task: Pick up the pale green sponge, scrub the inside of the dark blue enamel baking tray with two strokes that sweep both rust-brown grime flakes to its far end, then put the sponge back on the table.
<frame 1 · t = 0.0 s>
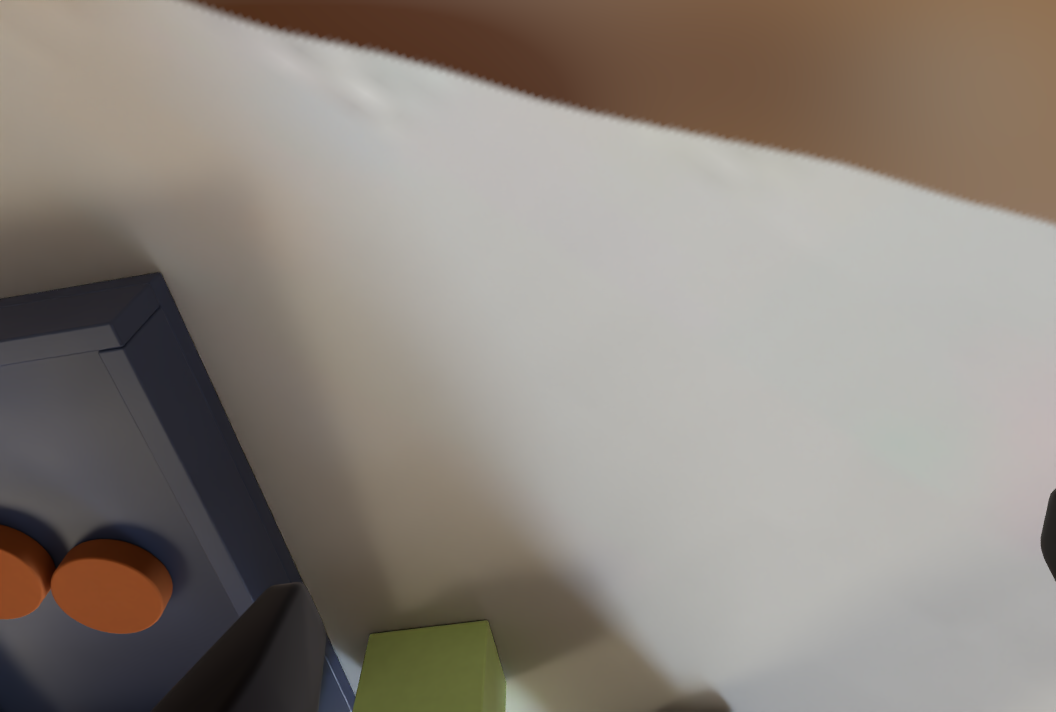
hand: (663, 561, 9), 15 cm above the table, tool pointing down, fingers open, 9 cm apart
tray: (86, 556, 30), on the table
sponge: (439, 658, 33), on the table
grime a: (119, 577, 29), point 1 cm above the table, touching tray
grime b: (0, 561, 29), point 1 cm above the table, touching tray
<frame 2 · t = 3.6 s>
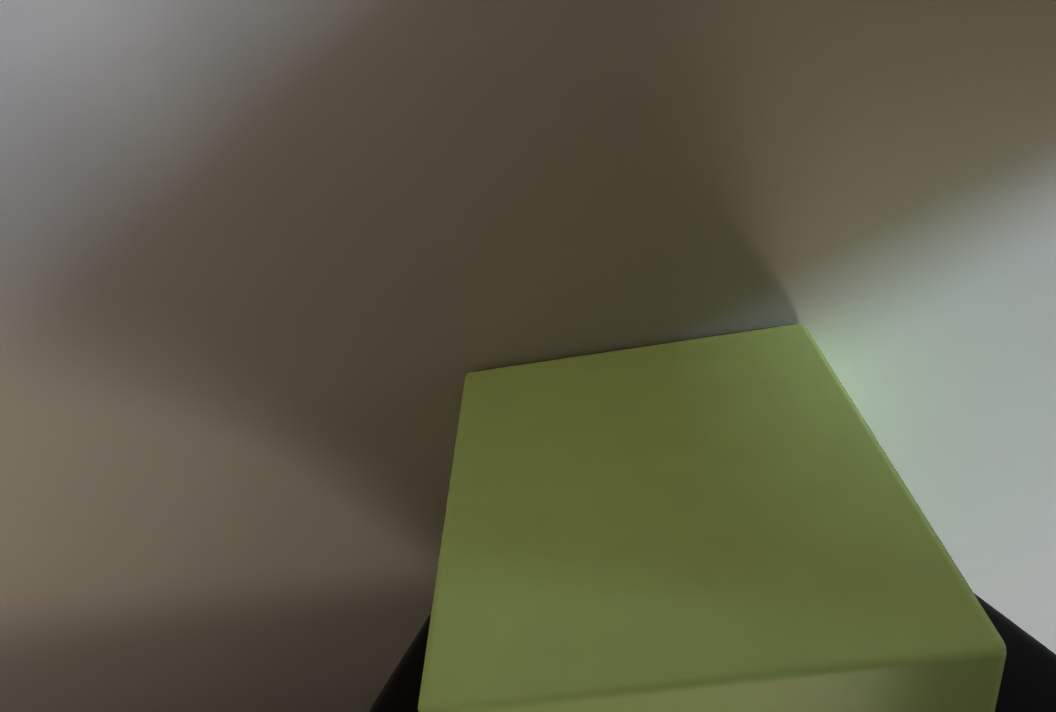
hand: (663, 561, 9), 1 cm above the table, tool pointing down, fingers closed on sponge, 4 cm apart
sponge: (650, 505, 10), on the table, touching gripper
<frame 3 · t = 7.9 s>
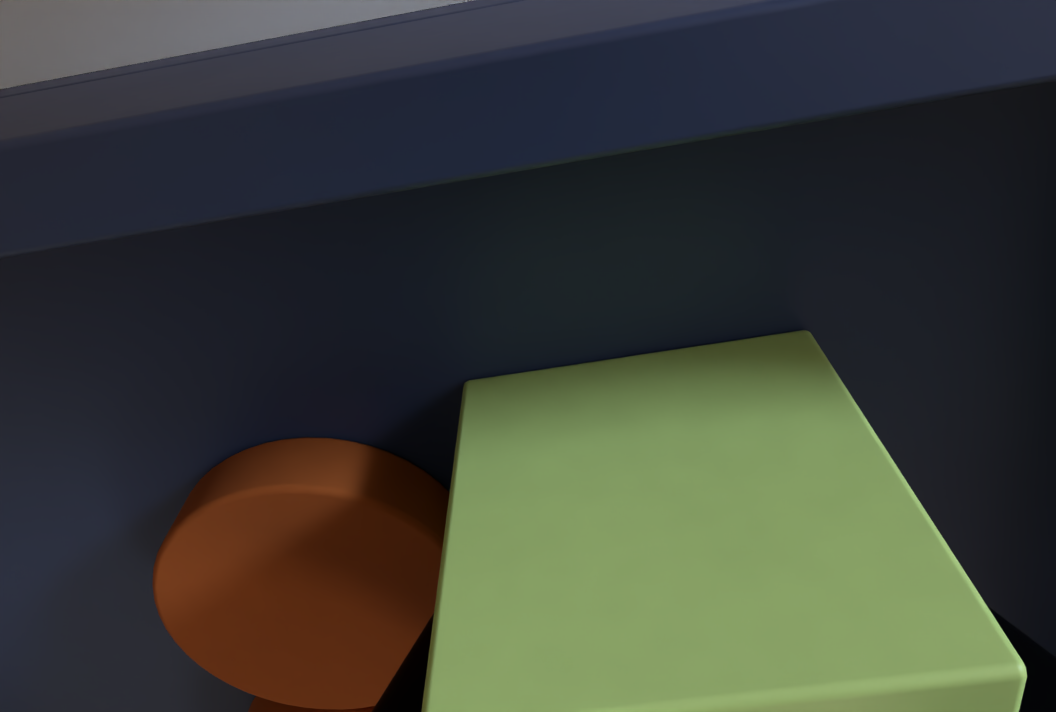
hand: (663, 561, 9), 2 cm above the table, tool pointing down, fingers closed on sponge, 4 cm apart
tray: (401, 581, 12), on the table
sponge: (652, 514, 10), point 1 cm above the table, touching gripper
grime a: (332, 553, 10), point 1 cm above the table, touching gripper, tray
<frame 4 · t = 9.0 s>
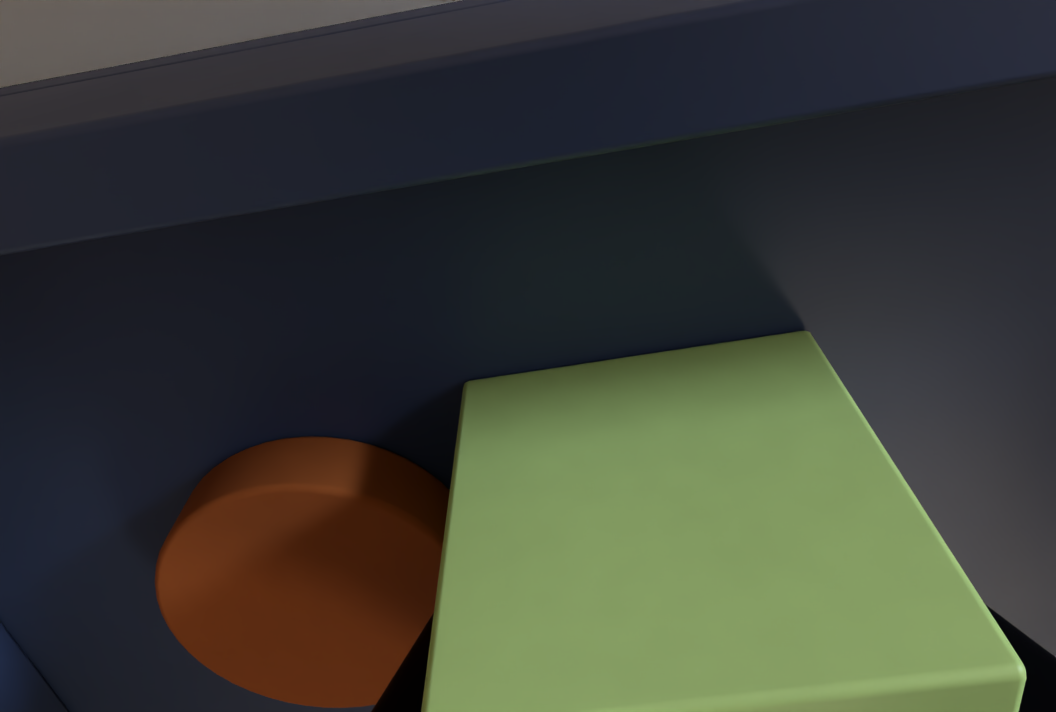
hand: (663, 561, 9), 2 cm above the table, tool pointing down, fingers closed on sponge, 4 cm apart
tray: (692, 543, 12), on the table
sponge: (652, 514, 10), point 1 cm above the table, touching gripper
grime a: (334, 552, 11), point 1 cm above the table, touching gripper, tray
when the fingers open (1 cm above the table, at t = 21.1 s): sponge stays where it is, on the table.
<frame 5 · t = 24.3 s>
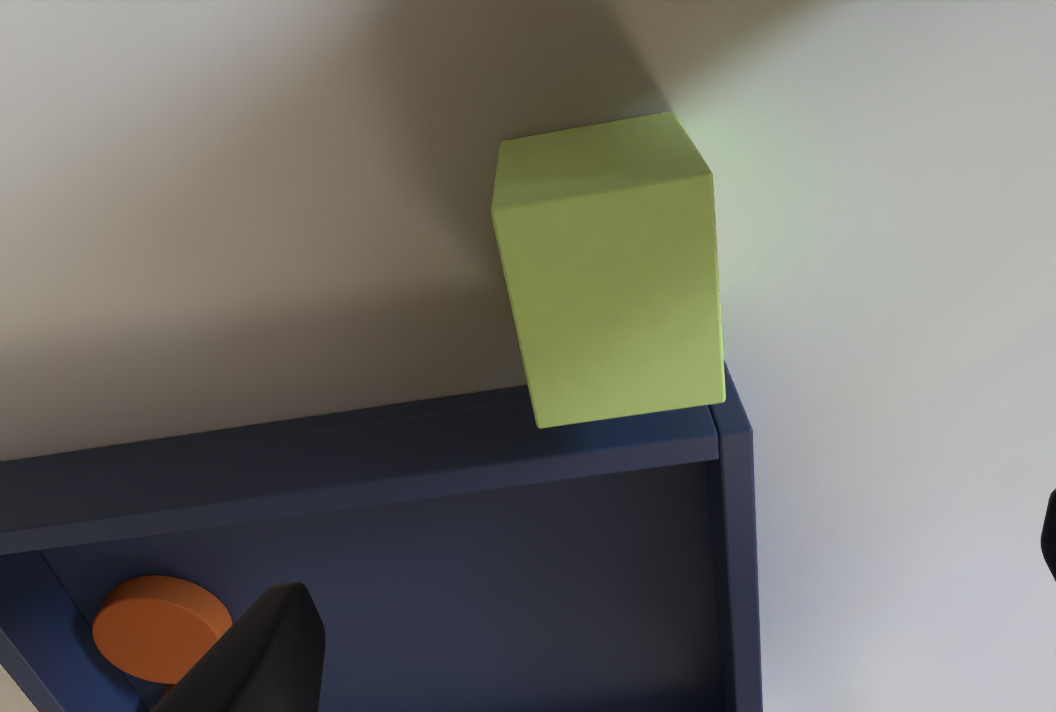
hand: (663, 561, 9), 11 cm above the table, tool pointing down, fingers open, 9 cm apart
tray: (405, 602, 26), on the table
sponge: (599, 227, 19), on the table
grime a: (170, 618, 25), point 1 cm above the table, touching tray
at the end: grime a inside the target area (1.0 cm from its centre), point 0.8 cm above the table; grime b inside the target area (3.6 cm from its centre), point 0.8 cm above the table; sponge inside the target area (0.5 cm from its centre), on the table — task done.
